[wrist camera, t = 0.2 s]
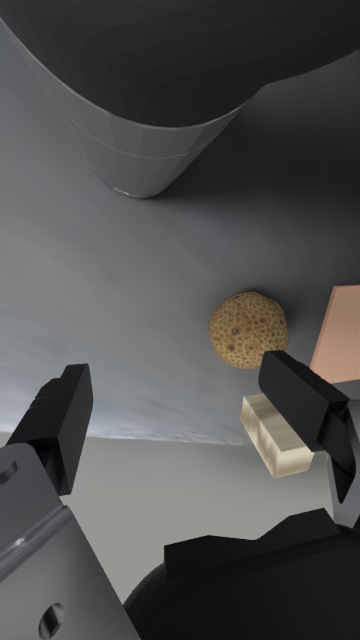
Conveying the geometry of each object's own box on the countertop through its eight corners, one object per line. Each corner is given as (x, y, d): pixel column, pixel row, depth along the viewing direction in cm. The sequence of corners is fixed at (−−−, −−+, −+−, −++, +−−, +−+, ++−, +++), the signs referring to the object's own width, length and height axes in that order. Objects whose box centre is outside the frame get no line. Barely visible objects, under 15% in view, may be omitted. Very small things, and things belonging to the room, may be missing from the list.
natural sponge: (253, 270, 28) (313, 292, 19) (262, 328, 31) (315, 369, 22) (187, 295, 27) (216, 330, 18) (205, 351, 31) (236, 402, 22)
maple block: (243, 396, 36) (281, 451, 27) (272, 391, 37) (317, 443, 28) (240, 419, 38) (273, 478, 29) (267, 414, 39) (308, 470, 30)
